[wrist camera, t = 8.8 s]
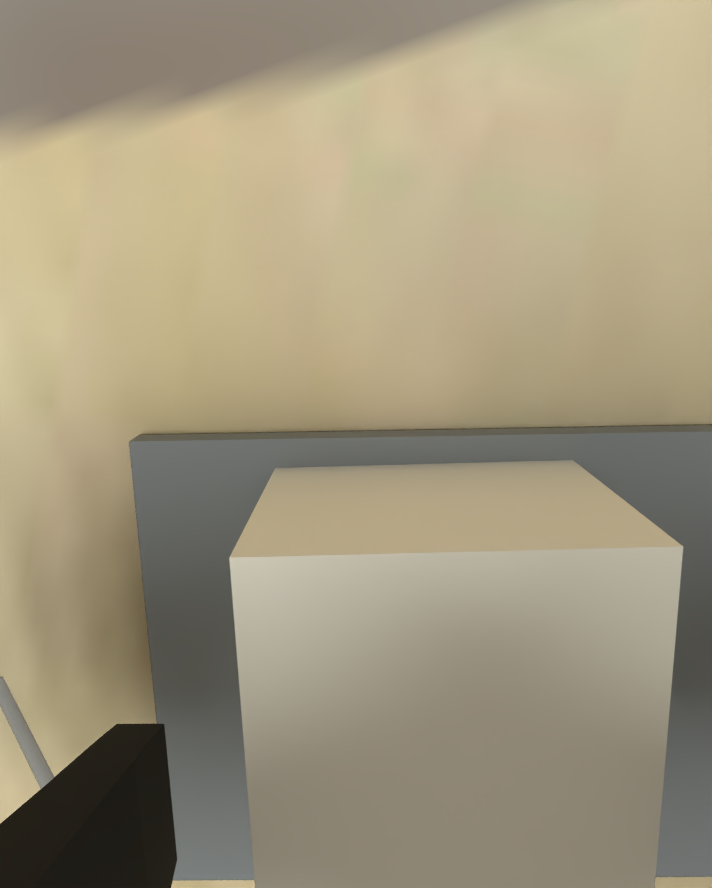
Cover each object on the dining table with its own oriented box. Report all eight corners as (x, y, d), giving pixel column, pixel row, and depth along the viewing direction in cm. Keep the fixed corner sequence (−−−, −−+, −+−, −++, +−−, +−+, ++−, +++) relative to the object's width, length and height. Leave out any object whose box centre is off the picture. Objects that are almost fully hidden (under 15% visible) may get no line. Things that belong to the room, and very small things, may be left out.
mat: (1301, 414, 10) (1348, 420, 10) (1169, 849, 12) (1204, 873, 11) (139, 435, 10) (129, 441, 10) (179, 857, 12) (172, 880, 12)
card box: (556, 849, 11) (638, 1084, 8) (298, 854, 12) (270, 1089, 8) (572, 460, 10) (684, 546, 6) (275, 468, 10) (229, 558, 7)
